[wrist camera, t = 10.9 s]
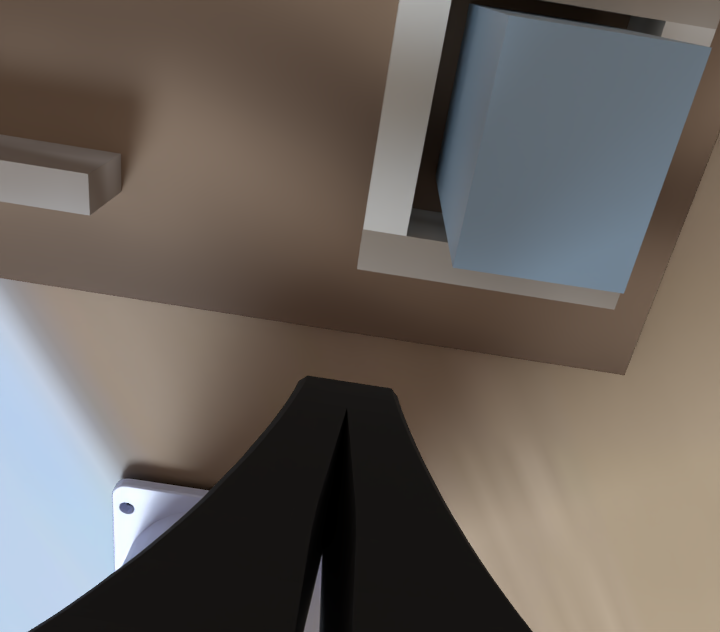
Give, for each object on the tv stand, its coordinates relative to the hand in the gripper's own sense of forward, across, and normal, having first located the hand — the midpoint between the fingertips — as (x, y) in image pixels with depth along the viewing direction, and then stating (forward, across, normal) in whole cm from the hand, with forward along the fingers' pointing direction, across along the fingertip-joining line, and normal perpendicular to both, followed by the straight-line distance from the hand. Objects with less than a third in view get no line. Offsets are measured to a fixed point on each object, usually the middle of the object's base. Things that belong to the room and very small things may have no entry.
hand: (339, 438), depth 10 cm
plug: (+9, -3, -4) cm, 10 cm away
